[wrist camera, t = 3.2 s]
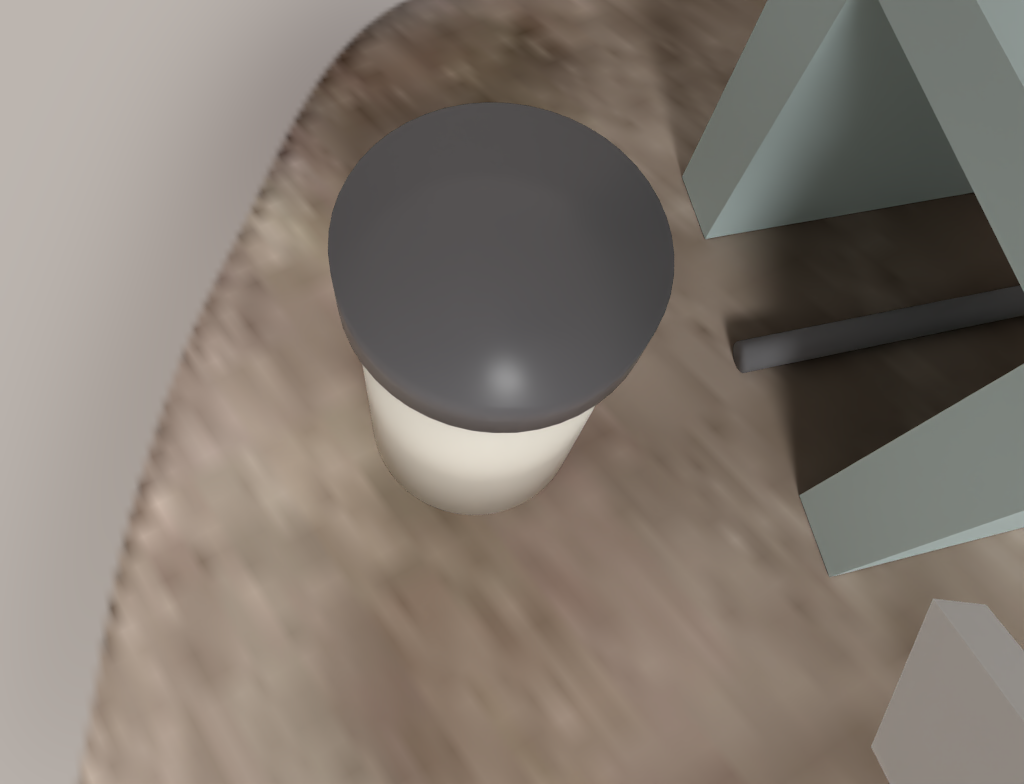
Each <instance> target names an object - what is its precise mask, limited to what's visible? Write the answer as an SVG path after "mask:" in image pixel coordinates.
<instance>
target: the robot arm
mask: <svg viewBox="0 0 1024 784" xmlns="http://www.w3.org/2000/svg"><path fill="white" fill-rule="evenodd" d="M871 748H872V750H873V752H874V754H875V756H876V757H877V759H878V761H879V763H880V765H881V767H882V769H883V771H884V773H885V775H886V777H887V779H888V781H889V783H890V784H1024V651H1023V649H1022V648H1021V647H1020V646H1019V644H1018V643H1017V642H1016V641H1015V640H1014V638H1013V637H1012V636H1011V635H1010V633H1009V632H1008V631H1007V630H1006V629H1005V627H1004V626H1003V625H1002V624H1001V622H1000V621H999V620H998V619H997V618H996V616H995V615H994V614H993V613H992V611H991V610H990V609H989V608H988V607H987V605H984V604H975V603H967V602H958V601H949V600H941V599H933V600H932V602H931V605H930V607H929V609H928V612H927V614H926V617H925V619H924V621H923V624H922V626H921V628H920V631H919V633H918V636H917V638H916V640H915V643H914V645H913V648H912V650H911V652H910V655H909V657H908V660H907V662H906V664H905V667H904V669H903V672H902V674H901V676H900V679H899V681H898V684H897V686H896V688H895V691H894V693H893V695H892V698H891V700H890V703H889V705H888V707H887V710H886V712H885V715H884V717H883V719H882V722H881V724H880V727H879V729H878V731H877V734H876V736H875V739H874V741H873V743H872V746H871Z"/></svg>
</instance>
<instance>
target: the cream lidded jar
mask: <svg viewBox="0 0 1024 784" xmlns="http://www.w3.org/2000/svg"><path fill="white" fill-rule="evenodd" d="M328 256H329V264H330V272H331V278H332V282H333V287H334V292H335V297H336V302H337V307H338V311H339V315H340V319H341V322H342V326H343V329H344V331H345V333H346V336H347V338H348V340H349V343H350V345H351V347H352V349H353V350H354V352H355V353H356V355H357V357H358V358H359V360H360V361H361V363H362V365H363V371H364V377H365V383H366V389H367V395H368V401H369V407H370V413H371V419H372V425H373V431H374V437H375V441H376V444H377V448H378V451H379V453H380V455H381V457H382V460H383V462H384V463H385V465H386V467H387V468H388V470H389V472H390V473H391V474H392V475H393V477H394V478H395V479H396V480H397V482H398V483H399V484H400V485H401V486H403V487H404V488H405V489H406V490H407V491H408V492H409V493H411V494H412V495H413V496H415V497H416V498H418V499H419V500H421V501H423V502H425V503H426V504H428V505H430V506H433V507H435V508H438V509H441V510H443V511H447V512H451V513H456V514H464V515H487V514H493V513H499V512H502V511H505V510H509V509H512V508H514V507H516V506H518V505H521V504H523V503H524V502H526V501H528V500H529V499H531V498H533V497H534V496H535V495H537V494H538V493H539V492H540V491H542V490H543V489H544V488H545V487H546V486H547V485H548V484H549V483H550V481H551V480H552V479H553V478H554V477H555V475H556V474H557V472H558V471H559V469H560V468H561V466H562V464H563V463H564V461H565V459H566V457H567V455H568V454H569V452H570V450H571V448H572V446H573V445H574V443H575V441H576V439H577V438H578V436H579V434H580V432H581V430H582V429H583V427H584V425H585V423H586V421H587V420H588V418H589V416H590V414H591V413H592V411H593V409H594V407H595V406H596V405H597V404H598V403H599V402H601V401H602V400H603V399H604V398H606V397H607V396H608V395H610V394H611V393H612V392H613V391H614V390H615V389H616V388H617V387H618V386H619V385H620V383H621V382H622V381H623V380H624V379H625V378H626V377H627V375H628V374H629V373H630V371H631V370H632V368H633V367H634V365H635V364H636V363H637V361H638V359H639V358H640V356H641V354H642V353H643V351H644V349H645V348H646V346H647V344H648V343H649V341H650V340H651V338H652V336H653V335H654V333H655V331H656V329H657V327H658V325H659V323H660V321H661V319H662V317H663V315H664V313H665V310H666V307H667V304H668V301H669V298H670V295H671V290H672V284H673V277H674V249H673V242H672V235H671V231H670V228H669V224H668V221H667V217H666V215H665V212H664V210H663V208H662V205H661V203H660V201H659V198H658V197H657V195H656V193H655V192H654V190H653V188H652V187H651V185H650V183H649V182H648V180H647V179H646V178H645V176H644V175H643V174H642V173H641V171H640V170H639V169H638V167H637V166H636V165H635V164H634V163H633V162H632V161H631V160H630V159H629V158H628V157H627V156H626V155H625V154H624V153H623V152H622V151H621V150H620V149H618V148H617V147H616V146H615V145H613V144H612V143H611V142H610V141H608V140H607V139H606V138H604V137H603V136H601V135H600V134H598V133H596V132H595V131H593V130H592V129H590V128H588V127H587V126H585V125H583V124H580V123H578V122H576V121H574V120H572V119H570V118H568V117H565V116H562V115H559V114H557V113H554V112H551V111H548V110H544V109H540V108H536V107H532V106H527V105H519V104H512V103H490V102H485V103H473V104H463V105H458V106H453V107H448V108H444V109H441V110H437V111H434V112H431V113H428V114H425V115H423V116H420V117H418V118H416V119H414V120H411V121H409V122H407V123H405V124H404V125H402V126H400V127H399V128H397V129H395V130H394V131H392V132H390V133H389V134H388V135H386V136H385V137H384V138H383V139H381V140H380V141H379V142H378V143H376V144H375V145H374V146H373V147H372V148H371V149H370V150H369V151H368V152H367V153H366V154H365V155H364V156H363V157H362V158H361V159H360V160H359V162H358V163H357V164H356V166H355V167H354V169H353V170H352V171H351V173H350V174H349V176H348V177H347V179H346V181H345V183H344V185H343V187H342V189H341V191H340V192H339V195H338V198H337V200H336V203H335V206H334V209H333V212H332V217H331V222H330V228H329V238H328Z"/></svg>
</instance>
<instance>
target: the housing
mask: <svg viewBox="0 0 1024 784" xmlns="http://www.w3.org/2000/svg"><path fill="white" fill-rule="evenodd" d="M682 178H683V181H684V183H685V186H686V189H687V192H688V194H689V197H690V200H691V202H692V205H693V208H694V211H695V213H696V216H697V219H698V221H699V224H700V227H701V230H702V232H703V235H704V238H705V239H708V238H714V237H720V236H725V235H731V234H737V233H743V232H748V231H754V230H760V229H766V228H771V227H777V226H783V225H789V224H794V223H800V222H806V221H812V220H818V219H823V218H829V217H835V216H841V215H846V214H852V213H858V212H864V211H869V210H875V209H881V208H887V207H893V206H898V205H904V204H910V203H916V202H921V201H927V200H933V199H939V198H944V197H950V196H956V195H962V194H967V193H973V192H974V193H975V195H976V197H977V199H978V201H979V203H980V205H981V207H982V209H983V211H984V213H985V215H986V217H987V219H988V221H989V223H990V225H991V227H992V229H993V231H994V233H995V235H996V237H997V239H998V241H999V243H1000V245H1001V247H1002V249H1003V251H1004V253H1005V255H1006V257H1007V259H1008V261H1009V263H1010V265H1011V267H1012V269H1013V271H1014V273H1015V275H1016V277H1017V279H1018V282H1019V284H1020V286H1021V288H1022V290H1023V292H1024V0H767V2H766V5H765V7H764V9H763V11H762V13H761V15H760V17H759V19H758V21H757V23H756V25H755V27H754V29H753V31H752V33H751V36H750V38H749V40H748V42H747V44H746V46H745V48H744V50H743V52H742V54H741V56H740V58H739V60H738V62H737V64H736V67H735V69H734V71H733V73H732V75H731V77H730V79H729V81H728V83H727V85H726V87H725V89H724V91H723V93H722V95H721V98H720V100H719V102H718V104H717V106H716V108H715V110H714V112H713V114H712V116H711V118H710V120H709V122H708V124H707V126H706V129H705V131H704V133H703V135H702V137H701V139H700V141H699V143H698V145H697V147H696V149H695V151H694V153H693V155H692V157H691V160H690V162H689V164H688V166H687V168H686V170H685V172H684V174H683V176H682ZM799 496H800V499H801V501H802V504H803V507H804V509H805V512H806V515H807V518H808V520H809V523H810V526H811V528H812V531H813V534H814V537H815V539H816V542H817V545H818V547H819V550H820V553H821V556H822V558H823V561H824V564H825V566H826V569H827V572H828V575H829V577H832V576H836V575H840V574H844V573H848V572H852V571H856V570H860V569H864V568H867V567H871V566H875V565H879V564H883V563H887V562H891V561H895V560H899V559H902V558H906V557H910V556H914V555H918V554H922V553H926V552H930V551H934V550H938V549H941V548H945V547H949V546H953V545H957V544H961V543H965V542H969V541H973V540H976V539H980V538H984V537H988V536H992V535H996V534H1000V533H1004V532H1008V531H1011V530H1015V529H1019V528H1023V527H1024V364H1022V365H1021V366H1019V367H1017V368H1016V369H1014V370H1012V371H1010V372H1009V373H1007V374H1005V375H1004V376H1002V377H1000V378H999V379H997V380H995V381H993V382H992V383H990V384H988V385H987V386H985V387H983V388H981V389H980V390H978V391H976V392H975V393H973V394H971V395H970V396H968V397H966V398H964V399H963V400H961V401H959V402H958V403H956V404H954V405H952V406H951V407H949V408H947V409H946V410H944V411H942V412H941V413H939V414H937V415H935V416H934V417H932V418H930V419H929V420H927V421H925V422H924V423H922V424H920V425H918V426H917V427H915V428H913V429H912V430H910V431H908V432H906V433H905V434H903V435H901V436H900V437H898V438H896V439H895V440H893V441H891V442H889V443H888V444H886V445H884V446H883V447H881V448H879V449H877V450H876V451H874V452H872V453H871V454H869V455H867V456H866V457H864V458H862V459H860V460H859V461H857V462H855V463H854V464H852V465H850V466H849V467H847V468H845V469H843V470H842V471H840V472H838V473H837V474H835V475H833V476H831V477H830V478H828V479H826V480H825V481H823V482H821V483H820V484H818V485H816V486H814V487H813V488H811V489H809V490H808V491H806V492H804V493H802V494H801V495H799Z"/></svg>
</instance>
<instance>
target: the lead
mask: <svg viewBox="0 0 1024 784" xmlns="http://www.w3.org/2000/svg"><path fill="white" fill-rule="evenodd" d="M1023 315H1024V292H1023V290H1022V288H1021V286H1020V285H1019V286H1014V287H1009V288H1004V289H999V290H994V291H989V292H984V293H979V294H974V295H969V296H964V297H959V298H954V299H949V300H944V301H938V302H933V303H928V304H923V305H918V306H913V307H908V308H903V309H898V310H893V311H888V312H883V313H878V314H873V315H868V316H863V317H858V318H853V319H847V320H842V321H837V322H832V323H827V324H822V325H817V326H812V327H807V328H802V329H797V330H792V331H787V332H782V333H777V334H772V335H767V336H762V337H757V338H751V339H746V340H741V341H737V342H736V343H735V344H734V347H733V357H734V361H735V364H736V366H737V368H738V370H739V371H740V372H742V373H745V372H750V371H755V370H760V369H764V368H769V367H774V366H779V365H784V364H789V363H794V362H799V361H803V360H808V359H813V358H818V357H823V356H828V355H833V354H837V353H842V352H847V351H852V350H857V349H862V348H867V347H872V346H876V345H881V344H886V343H891V342H896V341H901V340H906V339H911V338H915V337H920V336H925V335H930V334H935V333H940V332H945V331H950V330H954V329H959V328H964V327H969V326H974V325H979V324H984V323H988V322H993V321H998V320H1003V319H1008V318H1013V317H1018V316H1023Z"/></svg>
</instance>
